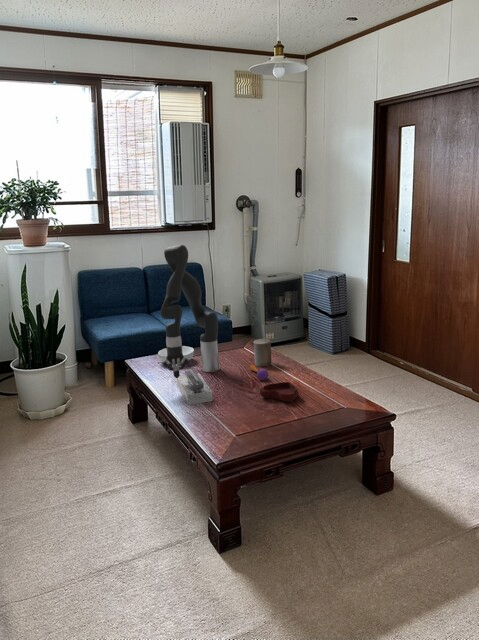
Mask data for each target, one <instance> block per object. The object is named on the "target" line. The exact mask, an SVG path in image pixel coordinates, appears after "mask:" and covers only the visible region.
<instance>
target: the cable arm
mask: <svg viewBox="0 0 479 640" xmlns="http://www.w3.org/2000/svg"><path fill="white" fill-rule="evenodd" d="M184 375H185V376H186V377H187V379H188V381H189V382H190V384H191V385H192V387H193V388H194V389H203V388H204V383H203V382H202V380H201V379H200V377H199V376H198V374H197V372H196V370H195V369H194V370H192V368H189V369H188V370H187V371H184Z"/></svg>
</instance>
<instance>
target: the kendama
mask: <svg viewBox="0 0 479 640" xmlns="http://www.w3.org/2000/svg"><path fill="white" fill-rule="evenodd" d="M249 370H250V371H253V372H255V373H256V376H257V379H258V380H260V381H266V380H267V379H268V378H269V372H268V370H266V369H265V368H261V369H258V368H257V366H256V365H255V364H250V365H249Z"/></svg>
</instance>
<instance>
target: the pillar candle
mask: <svg viewBox="0 0 479 640" xmlns="http://www.w3.org/2000/svg"><path fill="white" fill-rule="evenodd" d="M253 353H254V354H253V357H254V365H255V366H256V367H261V368H263V367H269V366H272V365H273V364H272V342H271V339H268V338H259V339H255V340H254V341H253Z"/></svg>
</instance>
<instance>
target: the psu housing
mask: <svg viewBox="0 0 479 640" xmlns="http://www.w3.org/2000/svg"><path fill="white" fill-rule="evenodd" d="M196 373H197V372H196ZM197 374H198V376H199V377H200V379H201V380H202V382H203V383H204V388H203V389H194V388H193V387H192V385H191V384H190V382H189V381H188V379H187V377H186V376H185V374H184V375H182V374H181V375H180V376H179V378H176V385H177V387H178V390H179V391H180V393H181V395H182V397H183V398H184V400H185V402H186V404H187V405H189V406H190V405H196V404H202V403H207V402H213V401H214V400H213V390H212V389H211V388H210V386H209V384H208V383H207V382H206V380H205V379H204V378H203V376H202V375H201V373H199V372H198V373H197Z"/></svg>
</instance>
